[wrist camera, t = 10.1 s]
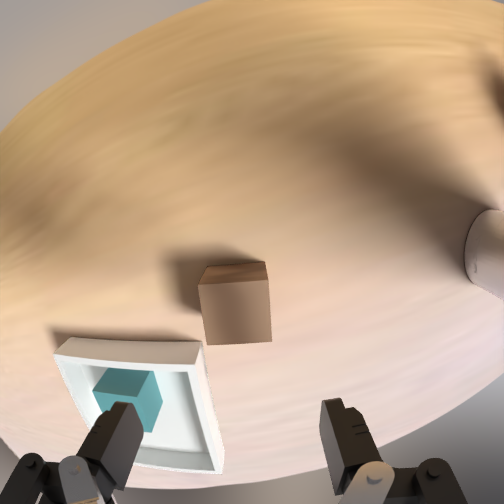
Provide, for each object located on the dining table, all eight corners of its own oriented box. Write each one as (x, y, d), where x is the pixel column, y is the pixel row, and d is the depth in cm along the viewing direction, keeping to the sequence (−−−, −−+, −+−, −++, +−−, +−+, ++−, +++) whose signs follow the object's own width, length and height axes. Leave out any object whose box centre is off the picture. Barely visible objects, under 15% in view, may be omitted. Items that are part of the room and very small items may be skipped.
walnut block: (264, 261, 25) (268, 280, 20) (268, 313, 26) (271, 341, 21) (207, 266, 25) (197, 284, 20) (214, 317, 26) (207, 345, 21)
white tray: (201, 341, 26) (194, 364, 22) (224, 451, 30) (222, 474, 26) (70, 336, 27) (52, 353, 23) (116, 440, 31) (108, 459, 27)
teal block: (152, 366, 26) (137, 397, 21) (163, 401, 27) (151, 432, 22) (111, 363, 26) (91, 390, 21) (123, 397, 27) (108, 425, 22)
